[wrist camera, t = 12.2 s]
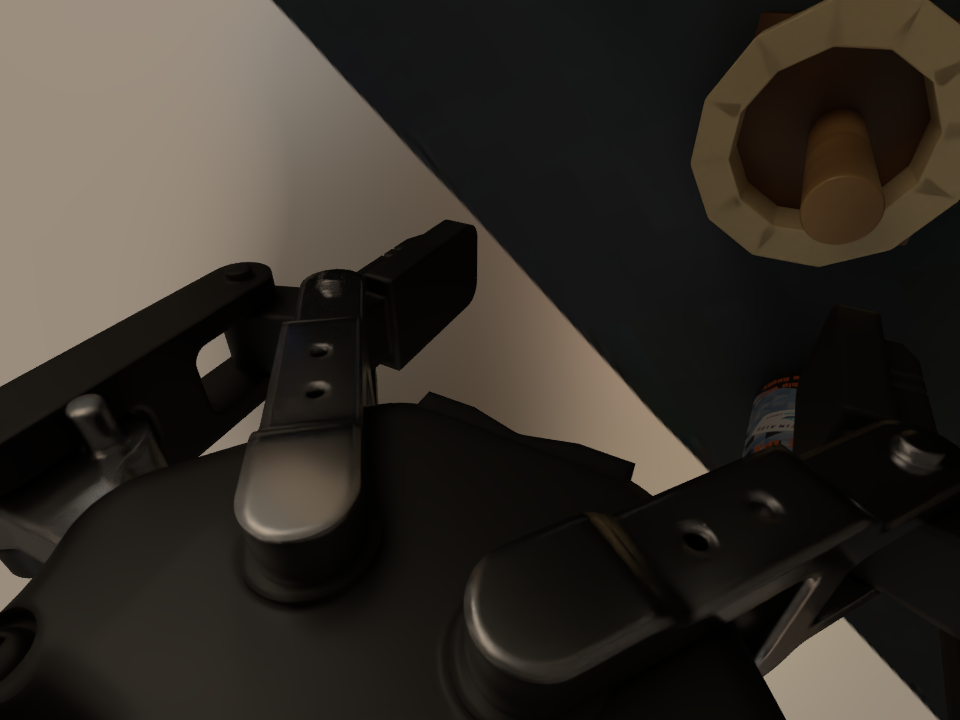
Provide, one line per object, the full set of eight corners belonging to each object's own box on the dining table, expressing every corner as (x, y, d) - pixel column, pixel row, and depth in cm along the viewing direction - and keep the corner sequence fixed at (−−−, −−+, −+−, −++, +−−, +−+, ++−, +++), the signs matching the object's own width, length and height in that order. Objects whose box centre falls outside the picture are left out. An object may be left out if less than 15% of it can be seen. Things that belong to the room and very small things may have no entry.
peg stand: (712, 203, 30) (662, 303, 21) (764, 11, 25) (728, 33, 16) (902, 235, 27) (940, 369, 18) (1010, 20, 21) (1143, 55, 12)
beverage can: (881, 365, 30) (902, 523, 22) (853, 463, 34) (863, 630, 25) (756, 351, 33) (731, 485, 25) (744, 442, 37) (718, 586, 28)
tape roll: (684, 221, 30) (672, 240, 28) (737, -8, 24) (728, -6, 21) (907, 259, 26) (914, 285, 24) (1040, -2, 20) (1066, 1, 18)
